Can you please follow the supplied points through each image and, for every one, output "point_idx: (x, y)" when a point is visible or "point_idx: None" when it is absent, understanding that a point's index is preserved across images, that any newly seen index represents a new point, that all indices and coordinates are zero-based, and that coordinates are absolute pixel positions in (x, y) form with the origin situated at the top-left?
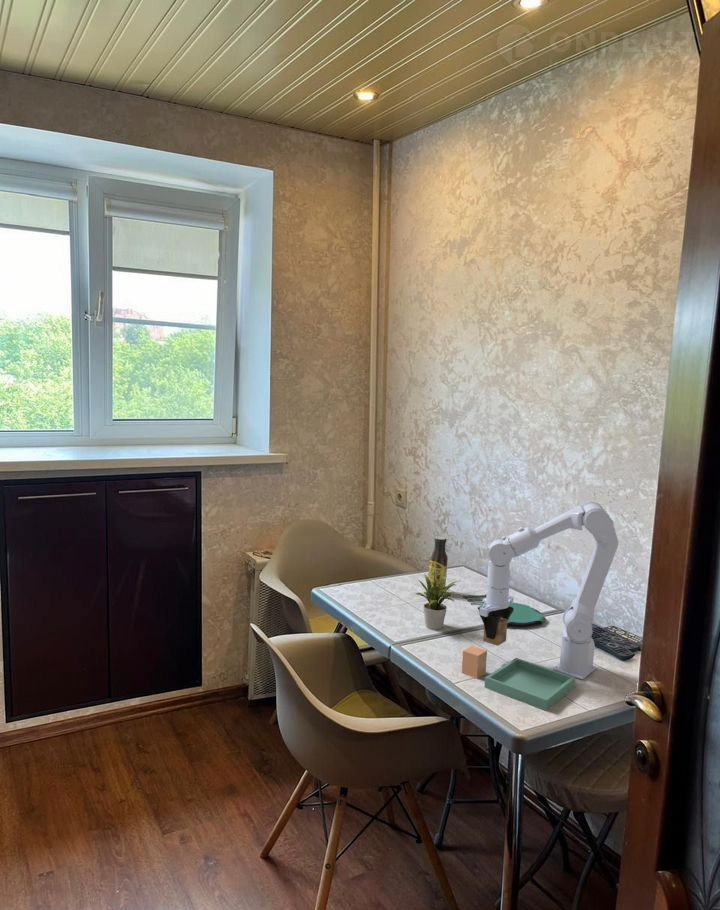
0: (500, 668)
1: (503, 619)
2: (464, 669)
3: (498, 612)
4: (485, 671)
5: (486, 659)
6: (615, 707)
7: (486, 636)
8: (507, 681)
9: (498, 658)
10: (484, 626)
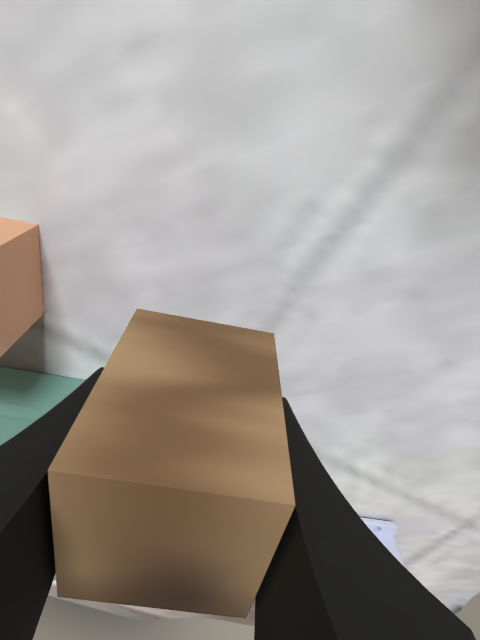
0: (26, 409)
1: (215, 600)
2: None
3: (287, 619)
4: (37, 316)
5: (1, 355)
6: (131, 617)
7: (94, 372)
8: (17, 420)
9: (259, 315)
10: (25, 430)
